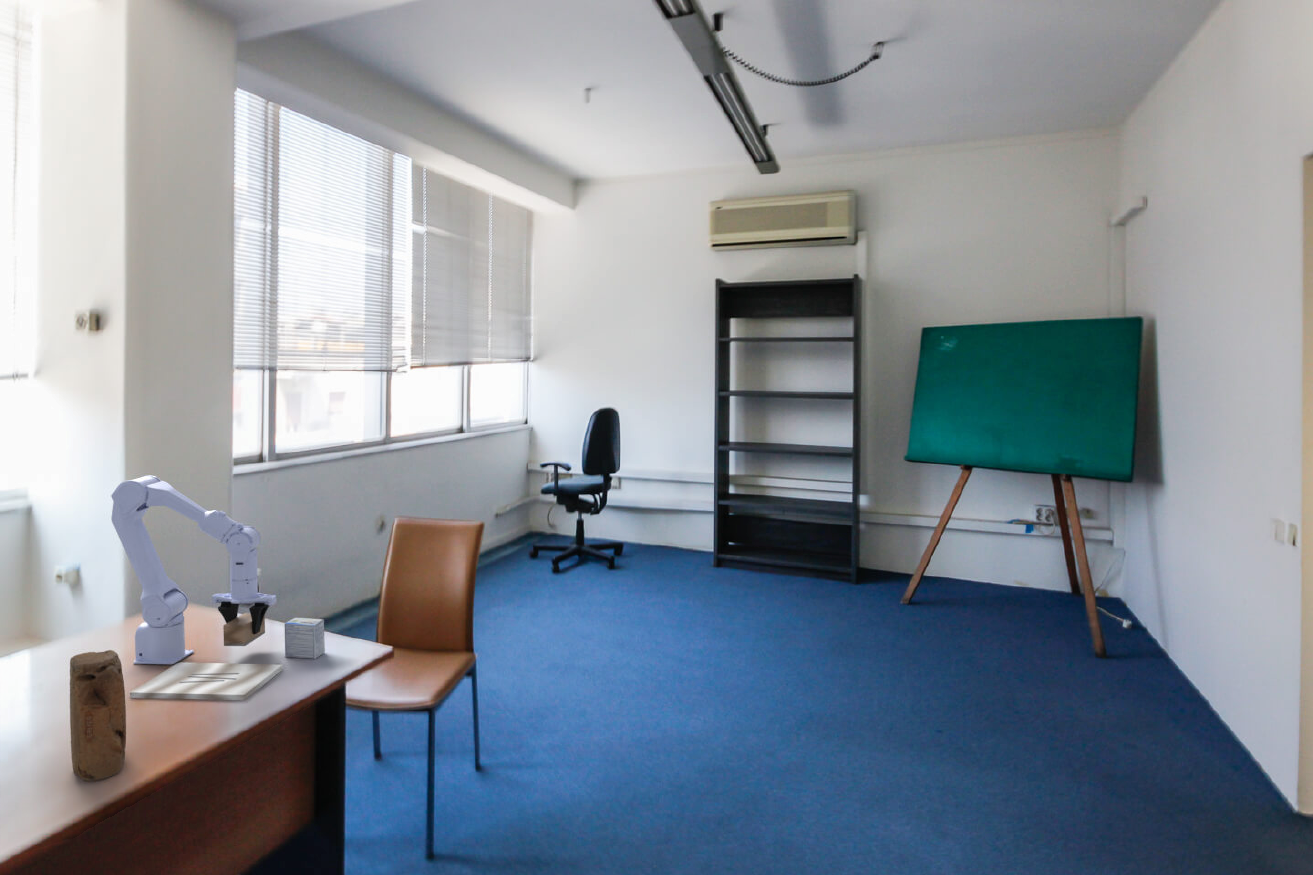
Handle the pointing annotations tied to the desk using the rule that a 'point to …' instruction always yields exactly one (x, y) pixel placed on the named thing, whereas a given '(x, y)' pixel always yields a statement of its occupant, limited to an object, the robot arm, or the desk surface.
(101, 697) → the block
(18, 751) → the desk surface
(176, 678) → the board
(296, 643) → the medicine box
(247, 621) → the block
